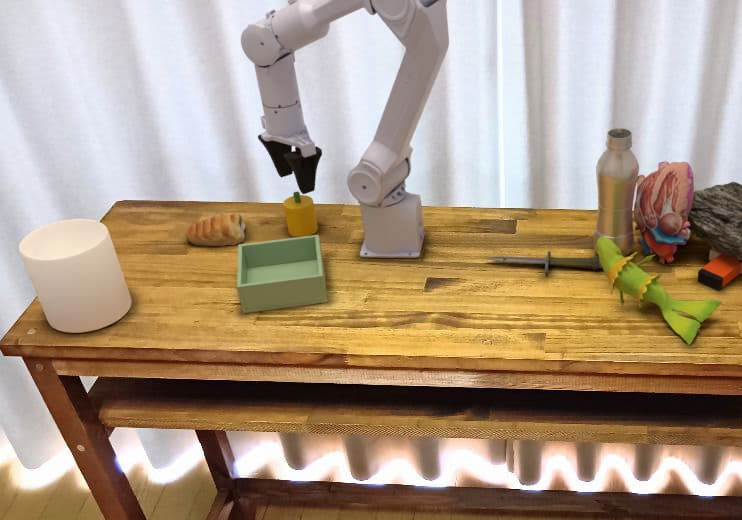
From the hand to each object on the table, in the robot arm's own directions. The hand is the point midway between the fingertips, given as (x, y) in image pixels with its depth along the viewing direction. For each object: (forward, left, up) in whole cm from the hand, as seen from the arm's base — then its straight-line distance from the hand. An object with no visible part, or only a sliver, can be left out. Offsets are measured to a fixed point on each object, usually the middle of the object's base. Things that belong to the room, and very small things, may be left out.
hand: (296, 183), depth 145 cm
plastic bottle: (-51, +7, -9) cm, 52 cm away
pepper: (0, 0, -8) cm, 8 cm away
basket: (-1, +17, -8) cm, 19 cm away
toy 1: (-56, +29, -2) cm, 64 cm away
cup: (+26, +24, -8) cm, 37 cm away
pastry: (+13, +3, -9) cm, 16 cm away
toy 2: (-64, +17, -7) cm, 67 cm away
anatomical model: (-58, +3, +5) cm, 59 cm away
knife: (-40, +9, -7) cm, 42 cm away
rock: (-65, +2, +1) cm, 65 cm away
